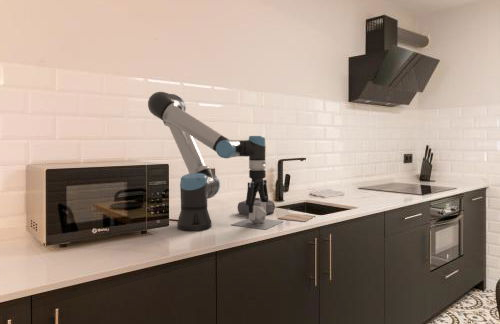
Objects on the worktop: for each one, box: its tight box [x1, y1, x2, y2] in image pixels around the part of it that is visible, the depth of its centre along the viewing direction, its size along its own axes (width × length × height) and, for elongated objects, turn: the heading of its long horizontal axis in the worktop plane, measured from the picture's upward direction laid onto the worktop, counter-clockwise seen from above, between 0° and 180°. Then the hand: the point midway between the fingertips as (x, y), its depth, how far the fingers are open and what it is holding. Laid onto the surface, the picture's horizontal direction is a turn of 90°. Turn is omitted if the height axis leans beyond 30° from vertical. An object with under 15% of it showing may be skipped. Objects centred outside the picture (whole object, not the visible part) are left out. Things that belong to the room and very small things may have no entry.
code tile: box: [230, 217, 285, 231], centre depth 173 cm, size 18×18×1 cm
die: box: [251, 206, 268, 224], centre depth 173 cm, size 8×9×10 cm
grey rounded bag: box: [237, 197, 276, 217], centre depth 197 cm, size 15×8×20 cm
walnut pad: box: [277, 212, 316, 223], centre depth 185 cm, size 14×14×1 cm
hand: (257, 217), depth 173 cm, fingers open, 10 cm apart
